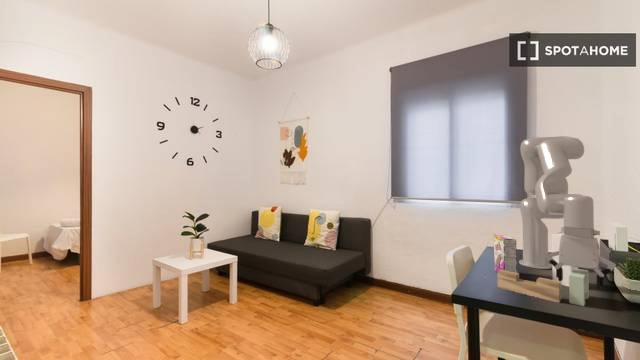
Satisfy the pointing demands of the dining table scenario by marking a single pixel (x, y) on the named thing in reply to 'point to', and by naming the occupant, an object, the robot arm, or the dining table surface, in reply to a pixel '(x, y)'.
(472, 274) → the dining table surface
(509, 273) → the oak rail
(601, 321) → the dining table surface
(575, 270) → the pale green rectangular block
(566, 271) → the milk
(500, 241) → the candy bar box
